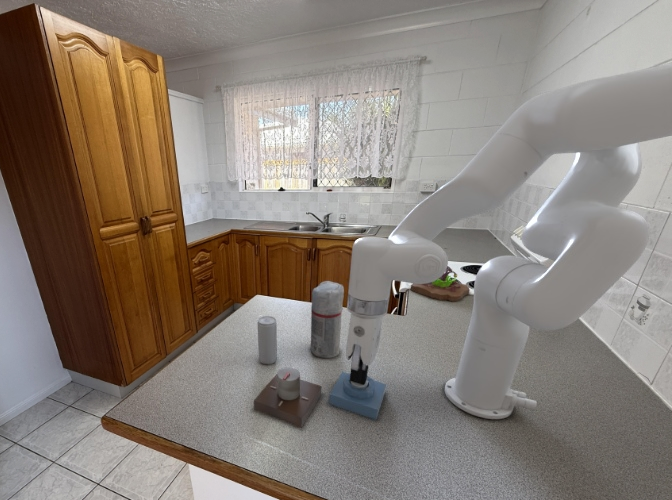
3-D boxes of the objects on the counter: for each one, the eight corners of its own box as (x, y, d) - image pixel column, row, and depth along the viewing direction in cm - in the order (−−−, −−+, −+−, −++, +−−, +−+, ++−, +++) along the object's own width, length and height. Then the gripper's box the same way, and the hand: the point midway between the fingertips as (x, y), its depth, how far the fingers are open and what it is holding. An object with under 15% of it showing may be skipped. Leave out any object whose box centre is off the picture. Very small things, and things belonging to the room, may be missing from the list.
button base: (384, 393, 70) (387, 377, 68) (376, 420, 63) (378, 402, 61) (341, 380, 75) (342, 365, 73) (328, 404, 67) (330, 387, 66)
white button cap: (368, 385, 68) (369, 378, 68) (364, 395, 65) (365, 388, 65) (352, 380, 70) (353, 374, 69) (348, 390, 67) (348, 383, 66)
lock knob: (283, 383, 70) (283, 363, 68) (303, 389, 68) (303, 369, 66) (273, 396, 66) (273, 375, 64) (294, 403, 64) (294, 382, 62)
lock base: (321, 395, 70) (321, 385, 69) (301, 428, 61) (301, 417, 60) (278, 380, 75) (278, 371, 74) (254, 409, 66) (253, 399, 65)
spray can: (339, 361, 82) (345, 291, 74) (308, 358, 84) (310, 289, 76) (339, 344, 90) (345, 279, 82) (311, 342, 91) (313, 277, 83)
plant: (426, 279, 139) (431, 255, 135) (474, 291, 125) (481, 264, 121) (403, 290, 128) (407, 264, 123) (453, 304, 114) (459, 275, 109)
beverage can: (265, 353, 86) (263, 314, 82) (280, 358, 84) (279, 318, 79) (255, 362, 82) (253, 321, 78) (271, 367, 80) (270, 326, 75)
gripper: (379, 322, 52) (367, 408, 59) (394, 293, 64) (382, 367, 71) (336, 313, 55) (329, 396, 63) (358, 287, 67) (350, 359, 75)
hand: (358, 380), depth 67 cm, fingers closed
